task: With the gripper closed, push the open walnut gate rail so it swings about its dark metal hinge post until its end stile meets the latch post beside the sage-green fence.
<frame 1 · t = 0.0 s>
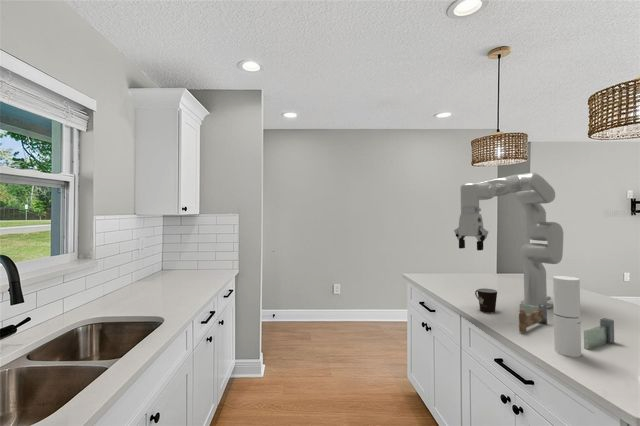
hand: (470, 249, 145), 31 cm above the worktop, tool pointing down, fingers open, 9 cm apart
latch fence: (607, 341, 117), on the worktop
coffee mug: (486, 310, 157), on the worktop
cylindrical container: (567, 352, 109), on the worktop
gate: (531, 316, 131), point 5 cm above the worktop, hinge at 80.0°
hinge post: (543, 323, 137), on the worktop
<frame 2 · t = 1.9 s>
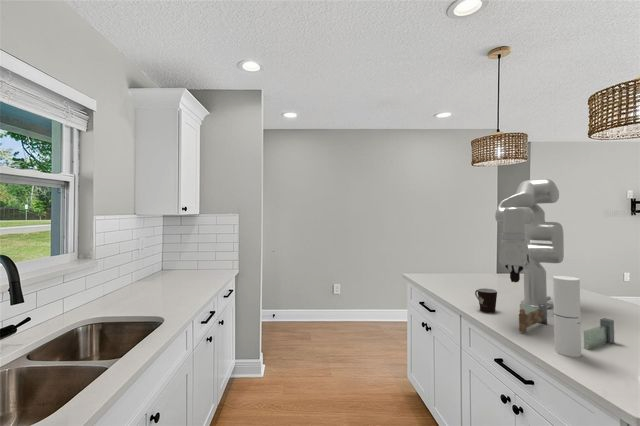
hand: (514, 281, 133), 19 cm above the worktop, tool pointing down, fingers closed
nothing on the worktop moved.
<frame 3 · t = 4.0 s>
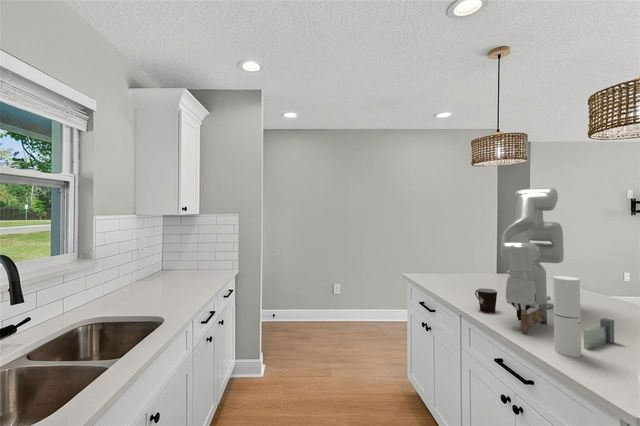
hand: (521, 320, 131), 4 cm above the worktop, tool pointing down, fingers closed
gate: (532, 316, 131), point 5 cm above the worktop, hinge at 77.8°, touching gripper
everything else where it was.
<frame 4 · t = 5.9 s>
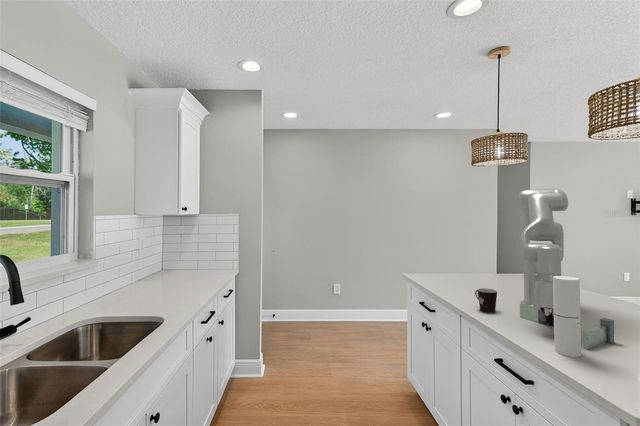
hand: (550, 325, 124), 4 cm above the worktop, tool pointing down, fingers closed
gate: (555, 319, 126), point 5 cm above the worktop, hinge at 37.1°, touching gripper
everything else where it was.
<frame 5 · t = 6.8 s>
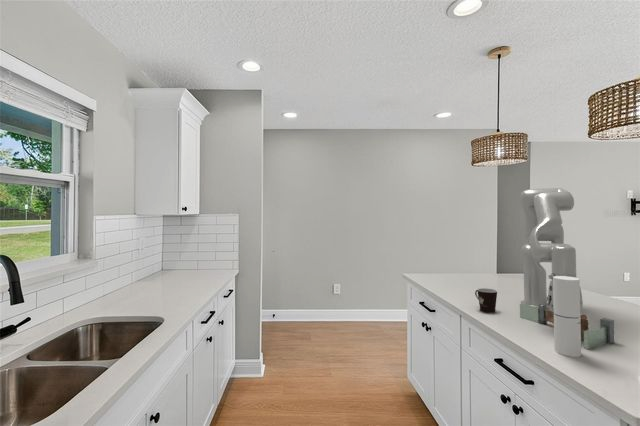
hand: (564, 326, 123), 4 cm above the worktop, tool pointing down, fingers closed
gate: (565, 319, 126), point 5 cm above the worktop, hinge at 17.3°, touching gripper
everything else where it was.
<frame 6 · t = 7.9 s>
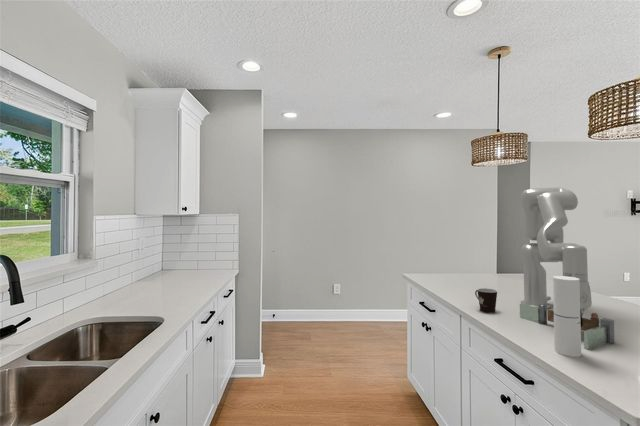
hand: (576, 325, 123), 4 cm above the worktop, tool pointing down, fingers closed
gate: (571, 319, 127), point 5 cm above the worktop, hinge at -0.3°, touching gripper
everything else where it was.
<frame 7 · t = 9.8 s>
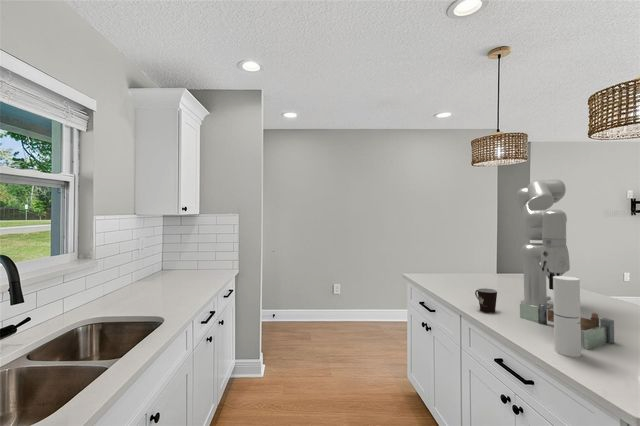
hand: (554, 289, 126), 17 cm above the worktop, tool pointing down, fingers closed
gate: (571, 319, 127), point 5 cm above the worktop, hinge at -0.5°
everything else where it was.
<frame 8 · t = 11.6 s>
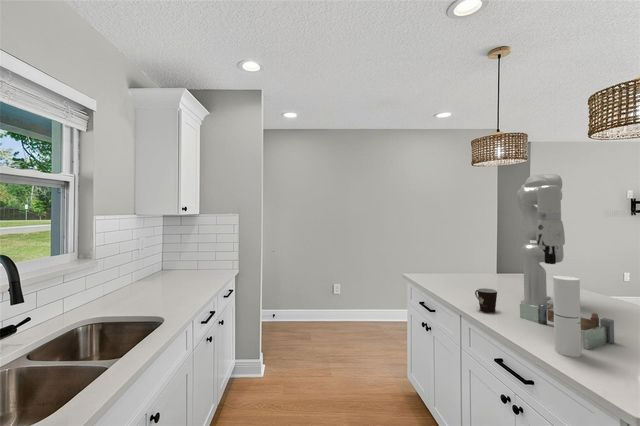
hand: (550, 263, 127), 27 cm above the worktop, tool pointing down, fingers closed
nothing on the worktop moved.
at the end: gate at +0° (first picture: +80°); gate touching nothing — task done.
